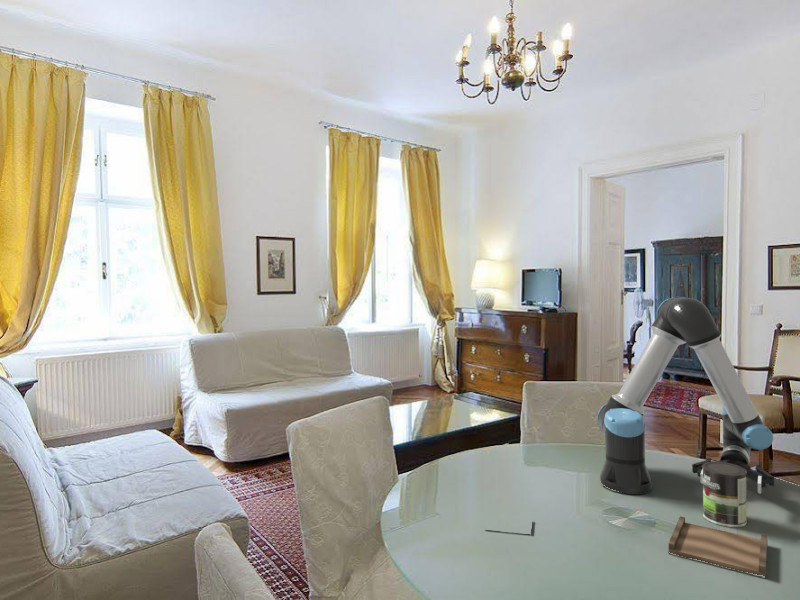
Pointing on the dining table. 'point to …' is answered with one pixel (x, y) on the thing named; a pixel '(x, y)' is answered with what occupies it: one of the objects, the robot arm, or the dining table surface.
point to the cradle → (720, 547)
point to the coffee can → (724, 494)
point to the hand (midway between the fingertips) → (729, 483)
